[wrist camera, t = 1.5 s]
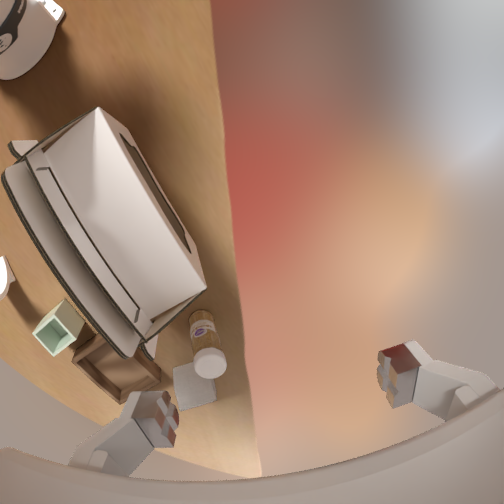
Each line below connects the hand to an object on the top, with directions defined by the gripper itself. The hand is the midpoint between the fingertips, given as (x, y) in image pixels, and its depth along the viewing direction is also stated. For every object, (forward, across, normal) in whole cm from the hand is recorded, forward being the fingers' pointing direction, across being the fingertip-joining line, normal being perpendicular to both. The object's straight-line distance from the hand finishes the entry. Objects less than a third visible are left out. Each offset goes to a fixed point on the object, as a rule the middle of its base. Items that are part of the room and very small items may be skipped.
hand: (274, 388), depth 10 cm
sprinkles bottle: (+37, +12, +15) cm, 42 cm away
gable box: (+34, +19, -6) cm, 39 cm away
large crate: (+33, +30, +20) cm, 48 cm away
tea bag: (+37, +17, +26) cm, 48 cm away
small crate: (+31, +36, +9) cm, 49 cm away
